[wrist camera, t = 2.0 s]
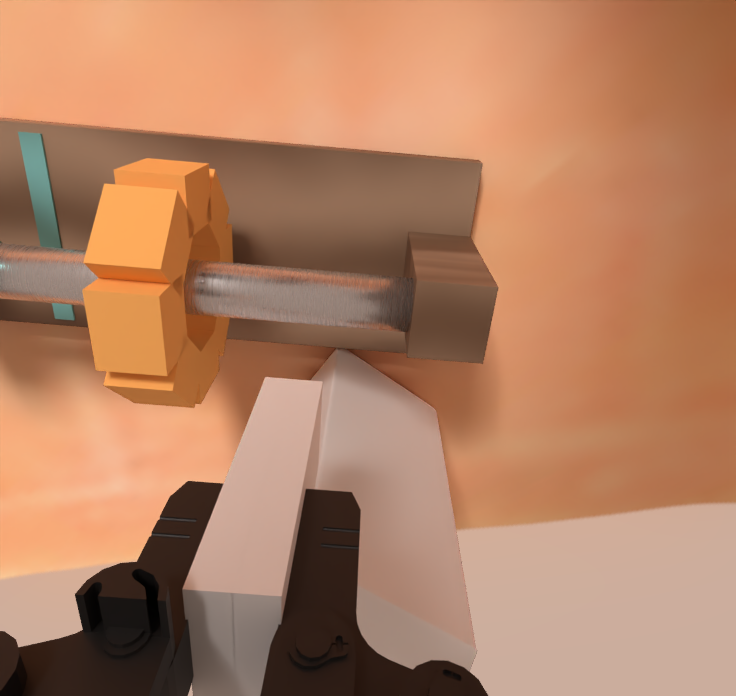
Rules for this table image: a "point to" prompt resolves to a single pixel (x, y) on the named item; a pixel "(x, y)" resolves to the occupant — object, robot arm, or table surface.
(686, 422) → the table surface
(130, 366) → the ring
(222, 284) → the pipe
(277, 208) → the rack
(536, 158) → the table surface
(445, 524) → the milk carton
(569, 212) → the table surface
